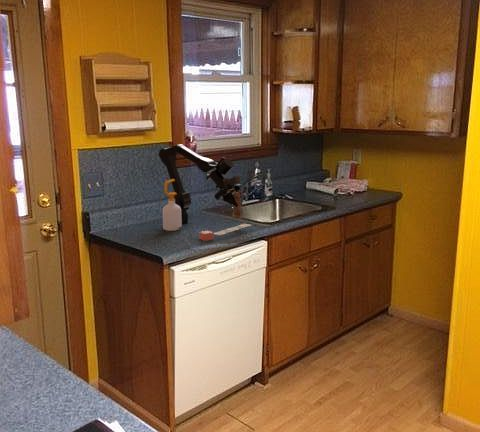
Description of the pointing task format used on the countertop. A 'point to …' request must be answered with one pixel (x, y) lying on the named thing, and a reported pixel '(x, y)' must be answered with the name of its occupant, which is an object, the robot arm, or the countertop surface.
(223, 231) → the track board
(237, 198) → the pawn
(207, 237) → the red cube
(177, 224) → the soap bottle
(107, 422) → the countertop surface
